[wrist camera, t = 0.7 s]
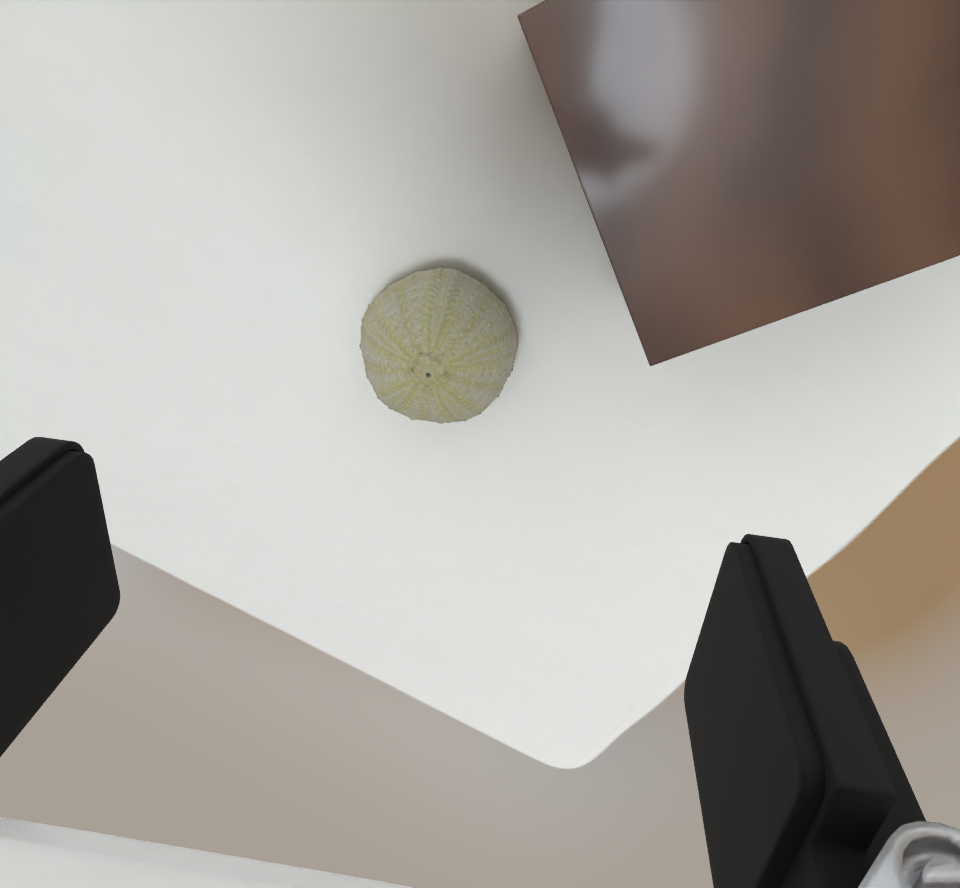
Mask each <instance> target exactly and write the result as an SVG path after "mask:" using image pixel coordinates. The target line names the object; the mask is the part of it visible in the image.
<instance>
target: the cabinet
mask: <svg viewBox="0 0 960 888" xmlns="http://www.w3.org/2000/svg"><path fill="white" fill-rule="evenodd" d="M518 19H519V22H520V25H521V27H522V30H523V32H524V35H525V38H526V40H527V43H528V46H529V48H530V51H531V54H532V56H533V59H534V61H535V64H536V67H537V69H538V72H539V75H540V77H541V80H542V83H543V85H544V88H545V90H546V93H547V96H548V98H549V101H550V104H551V106H552V109H553V112H554V114H555V117H556V119H557V122H558V125H559V127H560V130H561V133H562V135H563V138H564V141H565V143H566V146H567V148H568V151H569V154H570V156H571V159H572V162H573V164H574V167H575V170H576V172H577V175H578V178H579V180H580V183H581V185H582V188H583V191H584V193H585V196H586V199H587V201H588V204H589V207H590V209H591V212H592V214H593V217H594V220H595V222H596V225H597V228H598V230H599V233H600V236H601V238H602V241H603V243H604V246H605V249H606V251H607V254H608V257H609V259H610V262H611V265H612V267H613V270H614V272H615V275H616V278H617V280H618V283H619V286H620V288H621V291H622V294H623V296H624V299H625V301H626V304H627V307H628V309H629V312H630V315H631V317H632V320H633V323H634V325H635V328H636V330H637V333H638V336H639V338H640V341H641V344H642V346H643V349H644V352H645V354H646V357H647V360H648V362H649V365H650V366H652V365H655V364H658V363H661V362H663V361H666V360H669V359H672V358H675V357H677V356H680V355H683V354H686V353H688V352H691V351H694V350H697V349H700V348H702V347H705V346H708V345H711V344H714V343H716V342H719V341H722V340H725V339H728V338H730V337H733V336H736V335H739V334H741V333H744V332H747V331H750V330H753V329H755V328H758V327H761V326H764V325H767V324H769V323H772V322H775V321H778V320H781V319H783V318H786V317H789V316H792V315H794V314H797V313H800V312H803V311H806V310H808V309H811V308H814V307H817V306H820V305H822V304H825V303H828V302H831V301H834V300H836V299H839V298H842V297H845V296H847V295H850V294H853V293H856V292H859V291H861V290H864V289H867V288H870V287H873V286H875V285H878V284H881V283H884V282H886V281H889V280H892V279H895V278H898V277H900V276H903V275H906V274H909V273H912V272H914V271H917V270H920V269H923V268H926V267H928V266H931V265H934V264H937V263H939V262H942V261H945V260H948V259H951V258H953V257H956V256H959V255H960V0H545V1H543V2H542V3H540V4H538V5H536V6H534V7H532V8H530V9H528V10H527V11H525V12H523V13H521V14H519V15H518Z"/></svg>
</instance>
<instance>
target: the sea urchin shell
mask: <svg viewBox="0 0 960 888" xmlns="http://www.w3.org/2000/svg"><path fill="white" fill-rule="evenodd" d="M359 346H360V349H361V350H362V355H363V359H364V364H365V371H366V375H367V378H368V379H369V381H370V383H371V385H372V387H373V389H374V391H375V393H376V395H377V398H378V399H380V400H381V401H382V402H383V403H384V404H385V405H386V406H388V408H389V409H392V410H394V411H396V412H399V413H401V414H403V415H406V416H408V417H409V418H411V419H412V420H425V421H431V422H437V423H441V424H442V423H444V422H446V423H449V422H458V421H466V420H468V419H470V418H472V417H474V416H476V415H479V414H481V412H482V411H484V410H485V409H486V408H487V407H488V406H489V405H490V404H491V402H492V401H493V400H494V399H495V398H496V397H499V394H500V392H501V391H502V389H503V385H504V384H505V382H506V380H507V378H508V377H509V376H510V373H511V371H512V370H513V367H514V366H513V364H514V360H515V354H516V350H517V346H518V338H517V330H516V326H515V324H514V322H513V320H512V319H511V315H509V313H508V311H507V309H506V307H505V305H504V303H503V302H501V301H500V299H499V298H498V297H496V296H495V295H494V294H493V293H492V292H491V291H490V290H489V289H488V288H487V287H486V286H484V285H483V284H482V282H481V281H477V280H475V279H473V278H471V277H470V276H467V275H466V274H465V273H463V272H461V271H459V270H458V269H450V268H443V267H440V268H434V269H431V270H425V271H416V272H415V273H413V274H410V275H409V276H408V277H406V278H403V279H401V280H399V281H396V282H394V283H393V284H390V285H387V287H386V288H385V290H384V291H382V292H381V293H380V294H379V295H378V296H377V297H376V298H375V299H374V300H373V302H372V303H371V304H370V305H368V309H367V311H366V313H365V315H364V317H363V318H362V326H361V344H360V345H359Z"/></svg>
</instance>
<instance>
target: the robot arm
mask: <svg viewBox="0 0 960 888" xmlns="http://www.w3.org/2000/svg"><path fill="white" fill-rule="evenodd" d="M119 601H120V590H119V586H118V580H117V575H116V570H115V565H114V560H113V555H112V550H111V545H110V540H109V535H108V530H107V525H106V520H105V514H104V509H103V504H102V499H101V494H100V489H99V484H98V479H97V474H96V469H95V464H94V461H93V458H92V457H91V456H90V455H89V454H87V453H85V452H84V449H83V448H82V447H81V445H80V444H78V443H76V442H73V441H66V440H58V439H51V438H44V437H34V438H32V439H30V440H28V441H27V442H26V443H24V444H23V445H21V446H20V447H19V448H17V449H16V450H15V451H13V452H12V453H10V454H9V455H8V456H6V457H5V458H4V459H2V460H1V461H0V757H1V755H2V754H3V753H4V752H5V750H6V749H7V748H8V747H9V746H10V744H11V743H12V742H13V741H14V739H15V738H16V737H17V736H18V734H19V733H20V732H21V731H22V729H23V728H24V727H25V726H26V724H27V723H28V722H29V721H30V720H31V718H32V717H33V716H34V715H35V713H36V712H37V711H38V710H39V708H40V707H41V706H42V705H43V703H44V702H45V701H46V699H47V698H48V697H49V696H50V695H51V694H52V692H53V691H54V690H55V689H56V687H57V686H58V685H59V684H60V682H61V681H62V680H63V679H64V677H65V676H66V675H67V674H68V672H69V671H70V670H71V669H72V668H73V666H74V665H75V664H76V662H77V661H78V660H79V659H80V658H81V656H82V655H83V654H84V653H85V651H86V650H87V649H88V648H89V646H90V645H91V644H92V643H93V642H94V640H95V639H96V638H97V636H98V635H99V634H100V632H102V630H103V629H104V628H105V627H106V625H107V624H108V623H109V622H110V620H111V619H112V618H113V616H114V615H115V613H116V611H117V609H118V605H119ZM684 702H685V709H686V715H687V722H688V728H689V735H690V740H691V747H692V753H693V760H694V766H695V772H696V778H697V785H698V790H699V798H700V804H701V810H702V816H703V823H704V829H705V835H706V841H707V848H708V854H709V860H710V867H711V873H712V879H713V885H714V888H960V829H957V828H954V827H951V826H948V825H945V824H942V823H938V822H926V820H925V818H924V815H923V813H922V811H921V809H920V806H919V804H918V802H917V800H916V797H915V795H914V793H913V791H912V788H911V786H910V784H909V782H908V779H907V777H906V775H905V773H904V770H903V768H902V766H901V764H900V761H899V759H898V757H897V755H896V753H895V750H894V748H893V746H892V743H891V741H890V739H889V737H888V734H887V732H886V730H885V727H884V725H883V723H882V721H881V718H880V716H879V714H878V712H877V709H876V707H875V705H874V703H873V700H872V698H871V696H870V694H869V691H868V689H867V687H866V685H865V683H864V680H863V678H862V676H861V674H860V671H859V669H858V667H857V664H856V662H855V660H854V658H853V656H852V654H851V652H850V651H849V649H848V647H847V646H846V645H844V644H843V643H841V642H838V641H833V640H832V638H831V636H830V633H829V631H828V628H827V626H826V624H825V621H824V619H823V617H822V614H821V612H820V610H819V607H818V605H817V602H816V600H815V598H814V595H813V593H812V591H811V588H810V586H809V583H808V581H807V579H806V576H805V574H804V572H803V569H802V567H801V564H800V562H799V560H798V557H797V555H796V553H795V550H794V548H793V546H792V544H791V542H790V541H789V540H787V539H780V538H773V537H766V536H758V535H751V534H747V535H745V536H744V537H743V539H742V540H741V543H734V542H731V543H729V545H728V546H727V548H726V551H725V554H724V557H723V561H722V564H721V567H720V570H719V574H718V577H717V580H716V583H715V586H714V590H713V593H712V596H711V599H710V603H709V606H708V609H707V612H706V615H705V619H704V622H703V625H702V628H701V632H700V635H699V638H698V641H697V644H696V648H695V651H694V654H693V657H692V661H691V664H690V667H689V670H688V673H687V677H686V681H685V690H684ZM0 888H414V887H409V886H403V885H397V884H392V883H386V882H380V881H374V880H369V879H363V878H357V877H352V876H347V875H341V874H335V873H329V872H323V871H318V870H311V869H306V868H300V867H294V866H288V865H283V864H276V863H271V862H265V861H259V860H254V859H247V858H242V857H236V856H229V855H224V854H218V853H213V852H206V851H201V850H195V849H189V848H183V847H178V846H172V845H166V844H160V843H154V842H147V841H142V840H136V839H130V838H124V837H119V836H113V835H107V834H101V833H95V832H89V831H83V830H77V829H71V828H65V827H59V826H53V825H47V824H41V823H35V822H29V821H22V820H16V819H10V818H4V817H0Z"/></svg>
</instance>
